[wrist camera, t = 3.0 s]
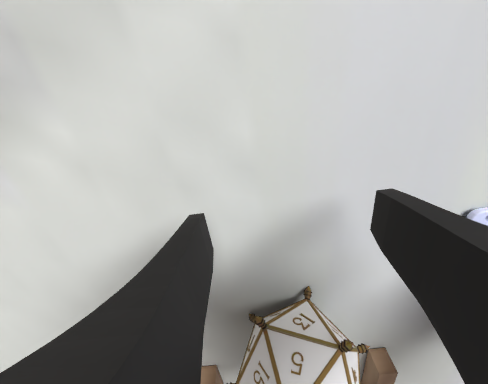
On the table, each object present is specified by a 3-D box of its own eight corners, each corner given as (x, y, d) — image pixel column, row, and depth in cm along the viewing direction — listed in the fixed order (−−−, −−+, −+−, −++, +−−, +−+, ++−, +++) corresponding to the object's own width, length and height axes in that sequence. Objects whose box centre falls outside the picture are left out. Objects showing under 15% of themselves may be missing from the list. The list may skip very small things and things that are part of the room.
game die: (300, 264, 22) (431, 355, 15) (262, 346, 23) (369, 468, 16) (227, 265, 15) (396, 425, 8) (179, 378, 16) (295, 608, 9)
